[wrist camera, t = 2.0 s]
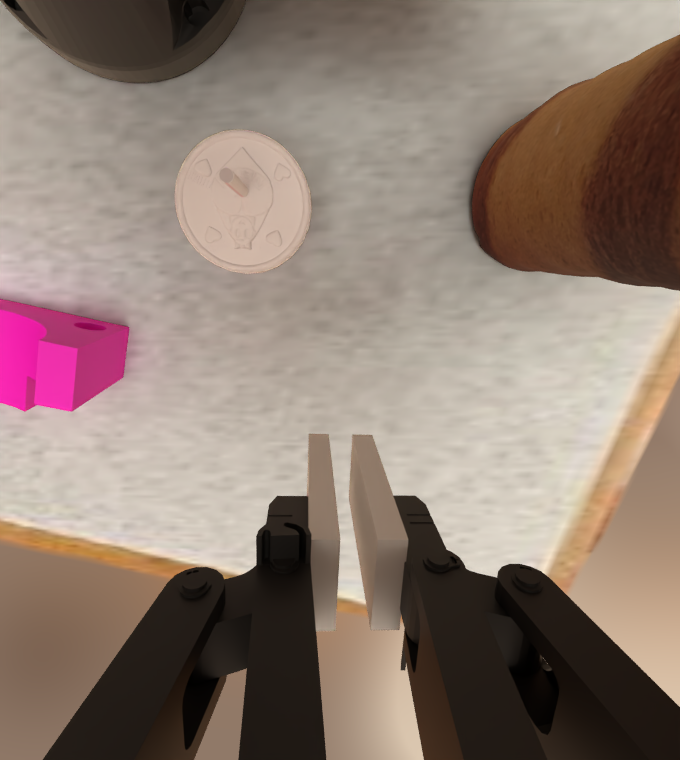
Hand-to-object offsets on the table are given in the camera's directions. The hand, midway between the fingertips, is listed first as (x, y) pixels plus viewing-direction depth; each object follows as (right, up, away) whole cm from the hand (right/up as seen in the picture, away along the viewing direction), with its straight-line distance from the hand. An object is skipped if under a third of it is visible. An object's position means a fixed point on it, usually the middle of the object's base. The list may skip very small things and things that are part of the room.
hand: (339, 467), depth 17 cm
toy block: (-23, +6, +14) cm, 28 cm away
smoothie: (-5, +14, +13) cm, 20 cm away
